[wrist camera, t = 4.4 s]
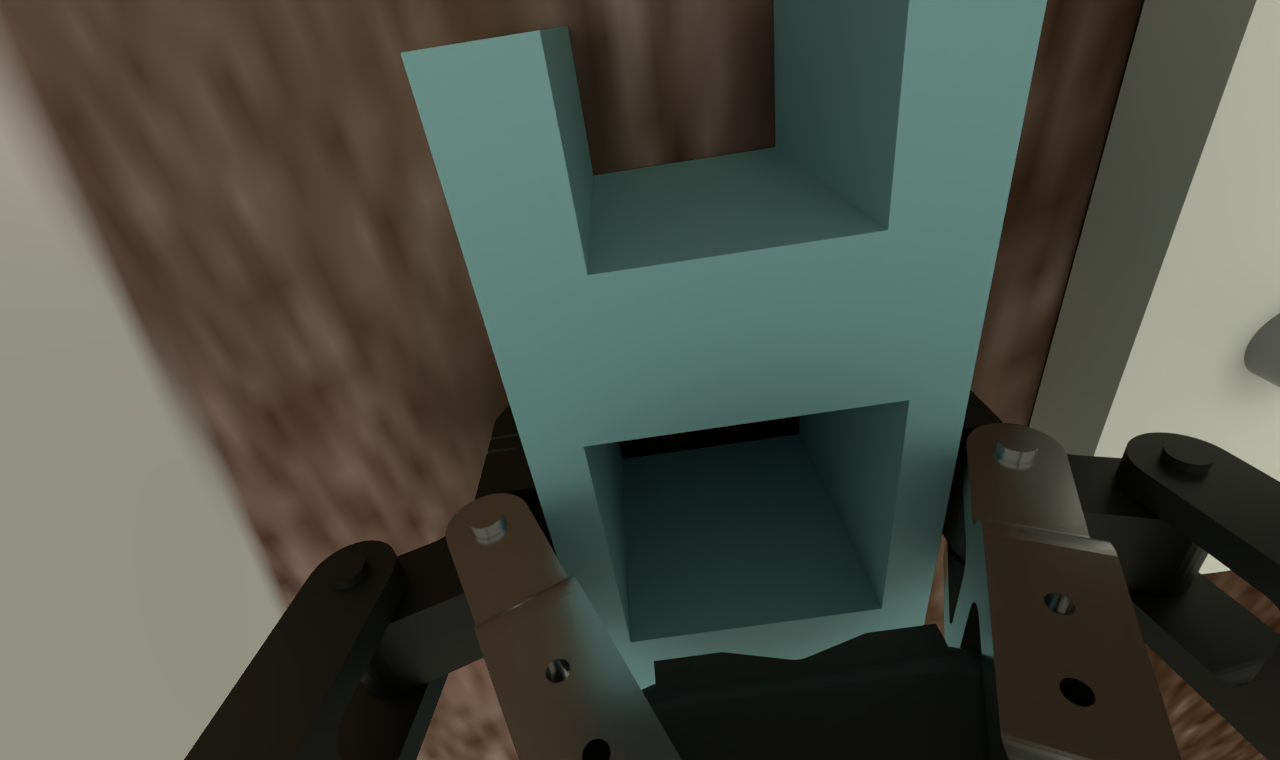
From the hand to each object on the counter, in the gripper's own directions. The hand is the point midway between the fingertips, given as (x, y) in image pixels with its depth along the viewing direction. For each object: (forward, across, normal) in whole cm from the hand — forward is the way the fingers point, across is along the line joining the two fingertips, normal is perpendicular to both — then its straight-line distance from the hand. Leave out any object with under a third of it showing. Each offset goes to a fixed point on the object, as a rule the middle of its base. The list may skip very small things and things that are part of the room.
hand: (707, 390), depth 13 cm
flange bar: (+1, 0, 0) cm, 1 cm away
